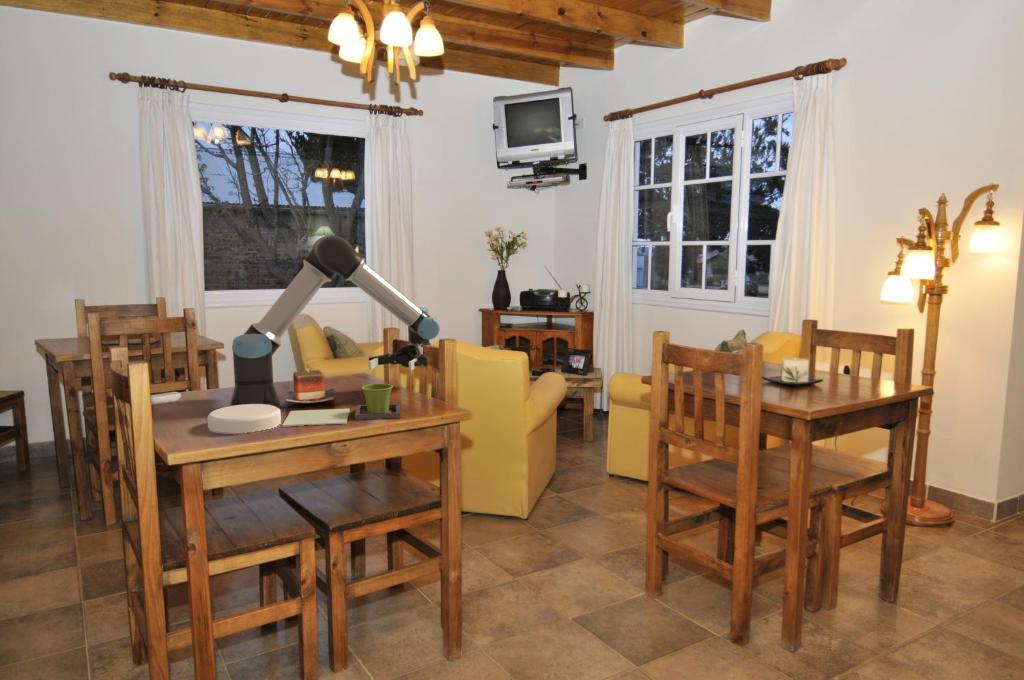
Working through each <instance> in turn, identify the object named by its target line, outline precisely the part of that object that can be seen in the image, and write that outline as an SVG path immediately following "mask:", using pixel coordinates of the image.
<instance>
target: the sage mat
mask: <svg viewBox="0 0 1024 680" xmlns="http://www.w3.org/2000/svg"><path fill="white" fill-rule="evenodd" d="M349 414H350V408H332V409H331V408H329V409H307V410H303V409H302V410H291V411H289V413H288V415H287V417H286V418H285V420H284V422H283V423H282V425H281V427H282V428H292V427H291V426H298V427H305V426H304V425H320V426H327V425H326V424H342V425H347V423H348V419H349ZM324 424H325V425H324Z"/></svg>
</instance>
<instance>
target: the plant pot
mask: <svg viewBox="0 0 1024 680" xmlns="http://www.w3.org/2000/svg"><path fill="white" fill-rule="evenodd" d="M393 388H394V387H393V385H392V384H389V383H371V384H366V385H363V386H362V387H361V390H362V391H363V394H364V397H365V403H366V404H365V405H367V409H368V410H367V414H372V413H389V410H390V409H389V404H390V399H391V393H392V389H393Z"/></svg>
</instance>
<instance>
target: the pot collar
mask: <svg viewBox="0 0 1024 680" xmlns="http://www.w3.org/2000/svg"><path fill="white" fill-rule="evenodd" d="M361 410H363V411H368V409H367V404H357V405H356V408H355V414H354V420H355V421H359V420H358V419H367V420H379V419H378V418H390V419H401V405H400V403H389V410H395V412H388V413H372V414H368V413H361V412H362V411H361Z"/></svg>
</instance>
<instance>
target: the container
mask: <svg viewBox="0 0 1024 680" xmlns="http://www.w3.org/2000/svg"><path fill="white" fill-rule="evenodd" d="M281 412H282V411H281V409H280V408H277V407H275V406H272V405H266V404H245V405H235V406H230V405H229V406H224V407H220V408H218V409H215V410H212V411H211V412H209V414H208V415H207V417H206V418H207V429H208V428H209V429H211V430H214V431H219V432H229V433H243V432H244V433H247V432H255V431H261V430H266V429H271V428H273V429H275V428H274V427H276V428H278V427H279V426H280V425H279V424H282V419H281V418H282V416H281V415H282V414H281ZM278 425H279V426H278ZM277 426H278V427H277ZM271 430H272V429H271Z"/></svg>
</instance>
